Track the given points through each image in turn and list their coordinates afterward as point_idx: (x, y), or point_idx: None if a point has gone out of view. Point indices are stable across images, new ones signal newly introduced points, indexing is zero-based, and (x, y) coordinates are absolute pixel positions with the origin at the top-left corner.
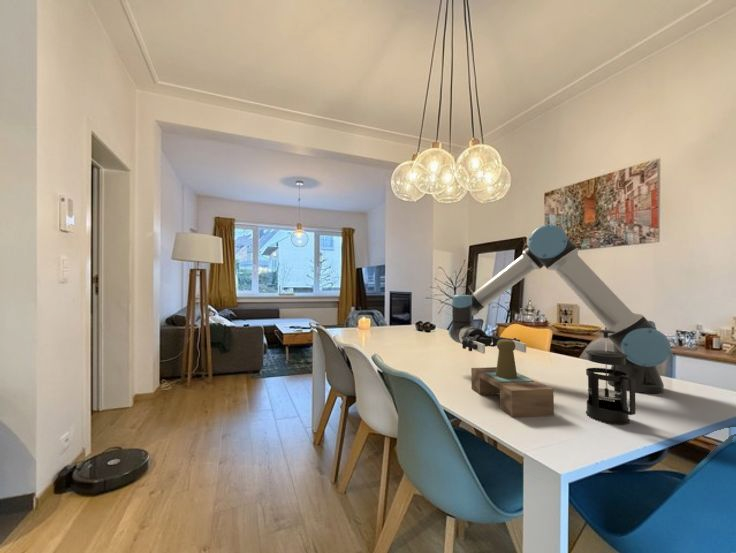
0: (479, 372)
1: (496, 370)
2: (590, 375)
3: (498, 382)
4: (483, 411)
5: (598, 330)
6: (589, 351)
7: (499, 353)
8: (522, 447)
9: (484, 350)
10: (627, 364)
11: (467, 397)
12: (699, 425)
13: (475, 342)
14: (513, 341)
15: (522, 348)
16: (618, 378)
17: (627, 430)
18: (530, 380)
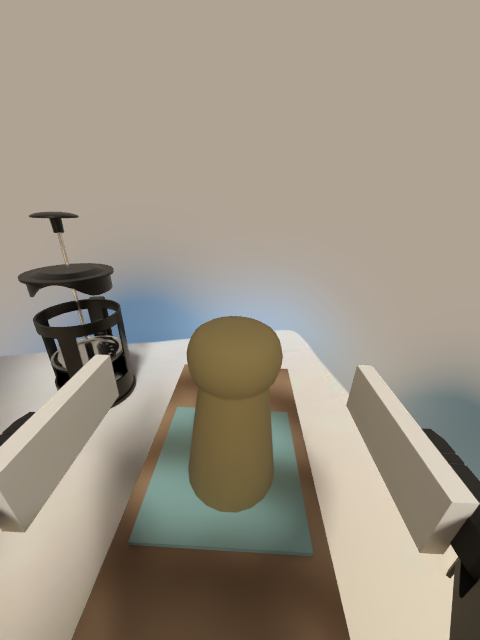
0: (338, 589)
1: (271, 467)
2: (115, 320)
3: (295, 417)
4: (336, 450)
5: (62, 214)
6: (71, 279)
7: (269, 391)
8: (309, 353)
9: (352, 392)
10: None
11: (382, 599)
12: (13, 356)
13: (433, 449)
14: (204, 323)
15: (108, 388)
16: (106, 302)
17: (135, 360)
18: (186, 408)
